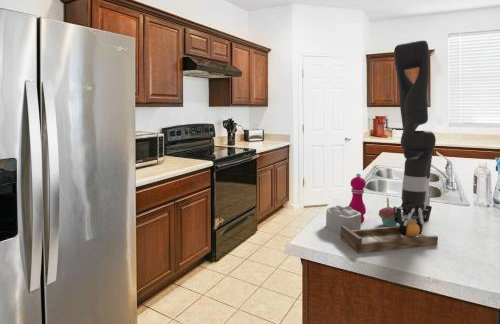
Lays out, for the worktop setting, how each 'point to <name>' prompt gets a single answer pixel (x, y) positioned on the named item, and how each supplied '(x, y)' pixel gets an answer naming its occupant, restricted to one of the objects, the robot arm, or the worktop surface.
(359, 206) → the pepper mill
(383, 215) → the cupcake
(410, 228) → the ball
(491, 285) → the worktop surface
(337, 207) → the lumpy-topped squat cylinder
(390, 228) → the wooden tray
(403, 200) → the robot arm
